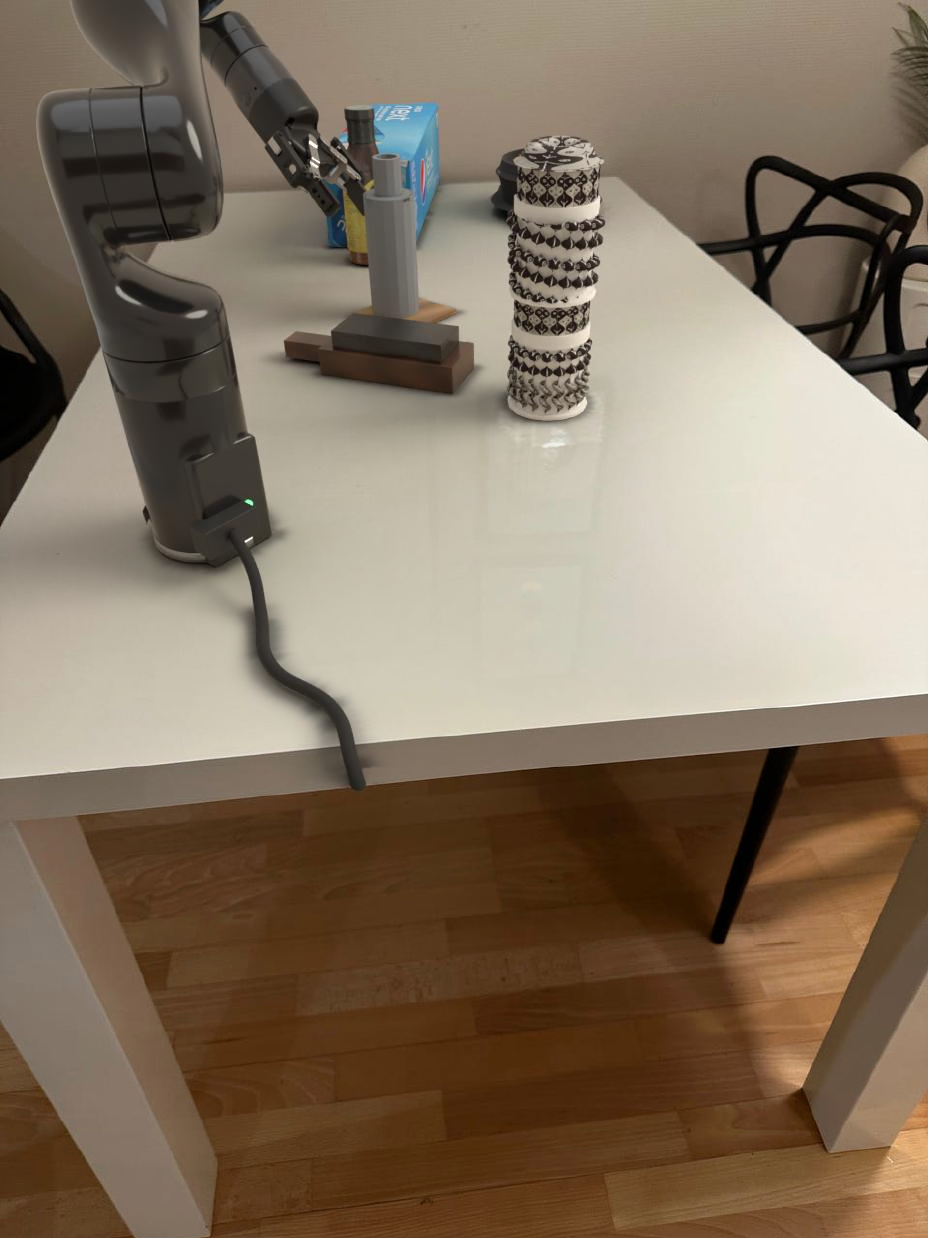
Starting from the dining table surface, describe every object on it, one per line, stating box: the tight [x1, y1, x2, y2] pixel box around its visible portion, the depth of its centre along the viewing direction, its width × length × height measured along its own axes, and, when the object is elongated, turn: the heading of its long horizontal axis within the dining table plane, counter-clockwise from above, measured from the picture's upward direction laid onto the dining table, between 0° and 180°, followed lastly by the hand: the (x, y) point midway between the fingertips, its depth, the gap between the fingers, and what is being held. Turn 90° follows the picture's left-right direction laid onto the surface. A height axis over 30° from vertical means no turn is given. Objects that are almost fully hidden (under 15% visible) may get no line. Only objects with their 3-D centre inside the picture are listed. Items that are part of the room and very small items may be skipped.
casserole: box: [490, 147, 603, 213], centre depth 148 cm, size 25×19×8 cm
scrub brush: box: [283, 312, 475, 394], centre depth 101 cm, size 22×7×5 cm, turn 70°
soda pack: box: [321, 102, 441, 248], centre depth 147 cm, size 40×14×13 cm, turn 175°
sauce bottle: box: [343, 104, 380, 266], centre depth 126 cm, size 6×6×20 cm
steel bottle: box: [363, 153, 420, 319], centre depth 109 cm, size 6×6×18 cm
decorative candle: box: [505, 135, 606, 422], centre depth 87 cm, size 9×9×25 cm
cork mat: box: [355, 297, 457, 323], centre depth 115 cm, size 10×10×1 cm
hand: (353, 211), depth 110 cm, fingers open, 8 cm apart
